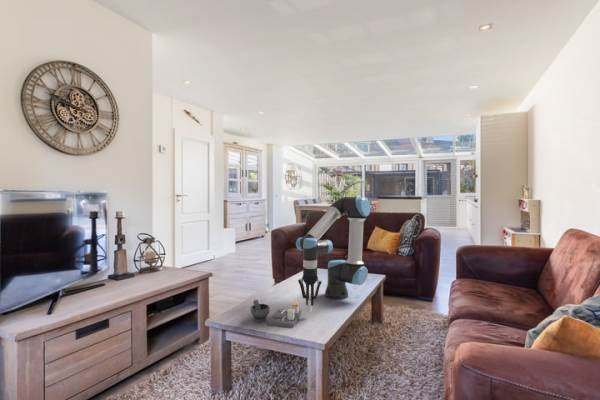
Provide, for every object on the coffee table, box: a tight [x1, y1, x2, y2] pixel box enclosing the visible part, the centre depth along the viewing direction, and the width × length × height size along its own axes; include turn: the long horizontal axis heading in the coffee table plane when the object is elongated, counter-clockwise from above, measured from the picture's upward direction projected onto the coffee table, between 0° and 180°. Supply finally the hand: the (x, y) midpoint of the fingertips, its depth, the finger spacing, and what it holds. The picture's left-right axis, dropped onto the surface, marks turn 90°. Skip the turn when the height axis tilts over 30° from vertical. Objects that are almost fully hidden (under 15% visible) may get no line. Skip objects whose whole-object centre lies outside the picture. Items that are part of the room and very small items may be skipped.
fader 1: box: [287, 308, 295, 320], centre depth 163 cm, size 3×3×5 cm
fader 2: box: [291, 302, 300, 314], centre depth 172 cm, size 3×3×5 cm
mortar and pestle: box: [250, 299, 270, 323], centre depth 166 cm, size 11×9×12 cm
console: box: [268, 308, 302, 328], centre depth 168 cm, size 13×18×2 cm
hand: (309, 311), depth 170 cm, fingers closed
